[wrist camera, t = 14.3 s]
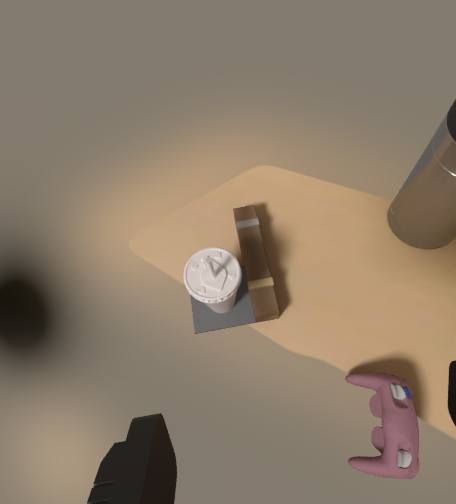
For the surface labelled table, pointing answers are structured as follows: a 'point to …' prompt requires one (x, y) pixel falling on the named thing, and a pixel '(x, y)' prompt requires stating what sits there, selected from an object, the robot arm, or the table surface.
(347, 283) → the table surface
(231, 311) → the end pad
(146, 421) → the robot arm
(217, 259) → the smoothie
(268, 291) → the guide rail
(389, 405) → the video game controller
